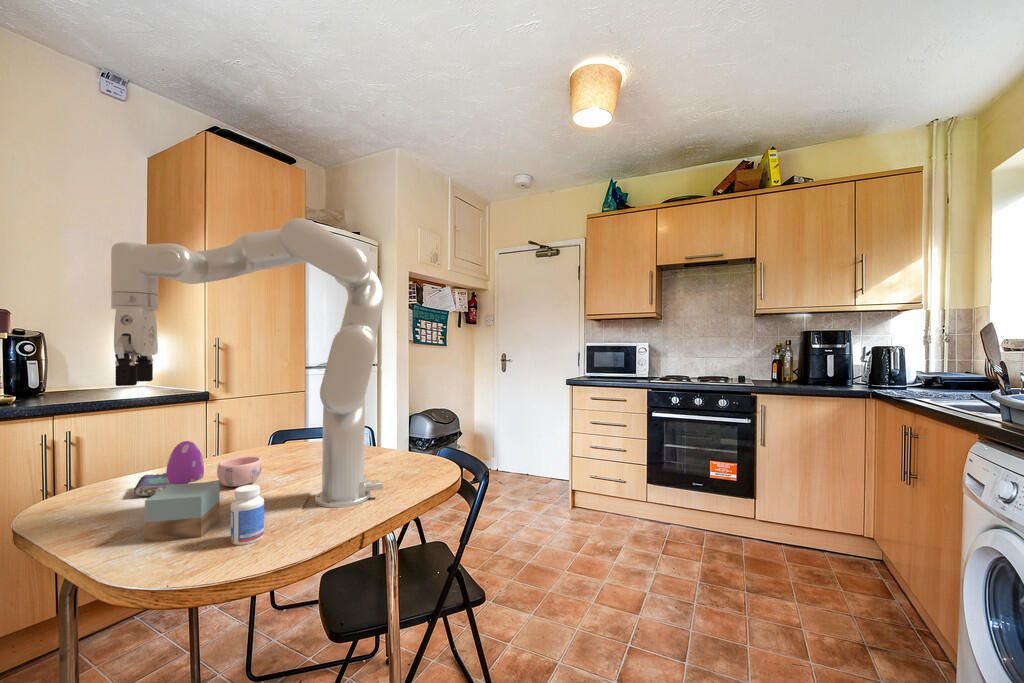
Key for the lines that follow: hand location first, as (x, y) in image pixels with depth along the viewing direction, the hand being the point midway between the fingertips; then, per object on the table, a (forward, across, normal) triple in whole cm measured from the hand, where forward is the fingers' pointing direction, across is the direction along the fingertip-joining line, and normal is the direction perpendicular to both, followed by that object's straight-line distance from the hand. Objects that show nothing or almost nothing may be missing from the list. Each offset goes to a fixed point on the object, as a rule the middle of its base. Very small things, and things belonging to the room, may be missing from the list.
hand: (135, 383), depth 91 cm
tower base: (+28, -12, -11) cm, 33 cm away
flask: (+29, +20, +1) cm, 36 cm away
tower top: (+24, -12, -11) cm, 30 cm away
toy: (+29, +1, -8) cm, 30 cm away
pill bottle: (+29, -22, -23) cm, 43 cm away
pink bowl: (+29, +17, -17) cm, 38 cm away
